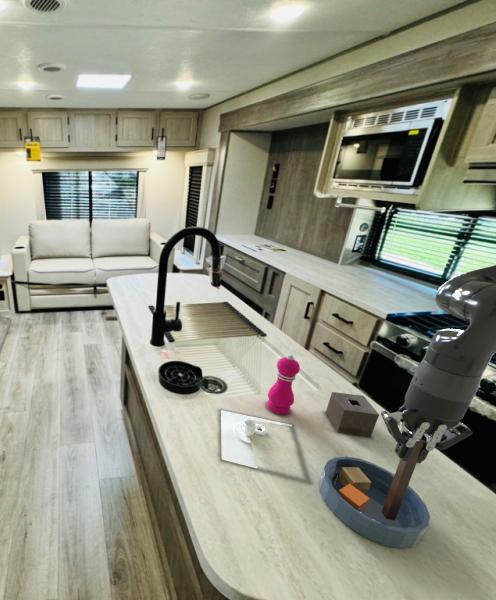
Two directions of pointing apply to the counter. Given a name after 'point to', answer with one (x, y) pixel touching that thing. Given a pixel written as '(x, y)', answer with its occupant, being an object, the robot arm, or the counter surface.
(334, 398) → the stick stand
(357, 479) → the block
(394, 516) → the stir stick
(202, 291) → the counter surface
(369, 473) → the bowl
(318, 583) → the counter surface
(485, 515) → the counter surface
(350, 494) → the block
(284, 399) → the pepper mill
